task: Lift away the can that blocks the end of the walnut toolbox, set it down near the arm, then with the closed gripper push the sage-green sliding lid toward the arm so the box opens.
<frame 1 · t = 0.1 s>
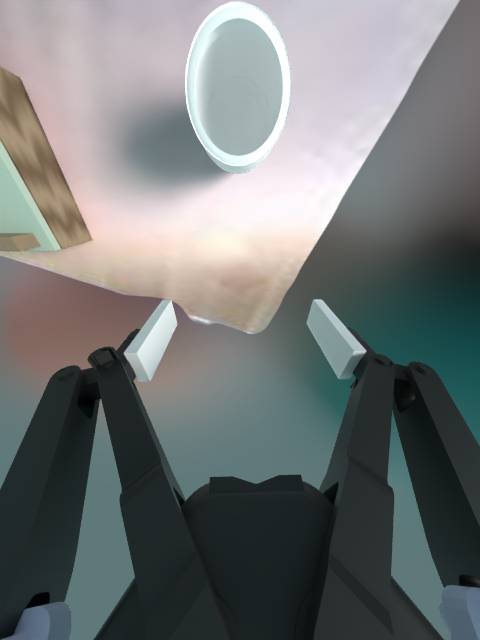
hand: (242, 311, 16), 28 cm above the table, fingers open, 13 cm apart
jar: (237, 140, 29), on the table
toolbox: (24, 174, 31), on the table
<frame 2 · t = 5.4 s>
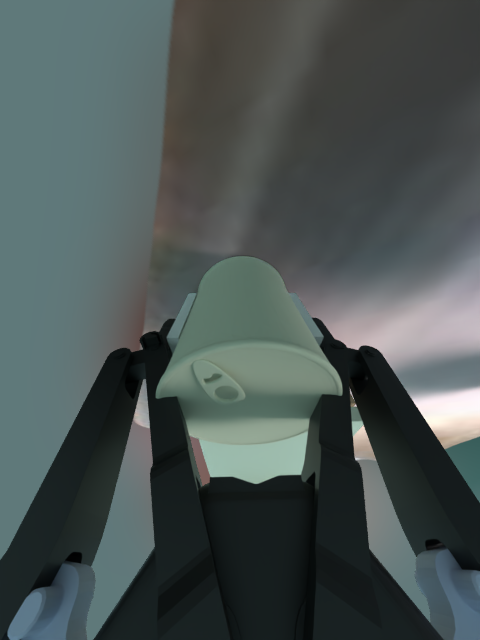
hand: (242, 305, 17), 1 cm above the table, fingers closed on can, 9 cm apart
can: (242, 299, 18), on the table, touching gripper
lid: (269, 480, 19), point 11 cm above the table, slide at 0.0 cm
when the fingers open (2 cm above the table, at t = 11.3 s): can drops 1 cm, on the table.
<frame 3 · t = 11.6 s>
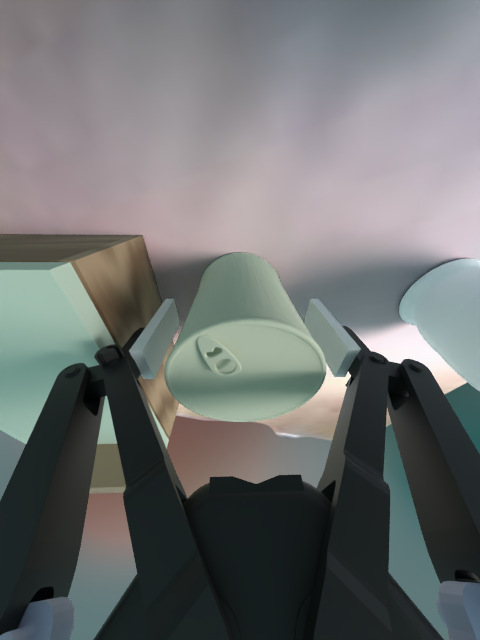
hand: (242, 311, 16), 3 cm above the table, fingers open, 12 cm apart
can: (240, 293, 19), on the table
jar: (435, 293, 20), on the table
lid: (32, 418, 13), point 11 cm above the table, slide at 0.0 cm, touching gripper
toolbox: (114, 330, 22), on the table
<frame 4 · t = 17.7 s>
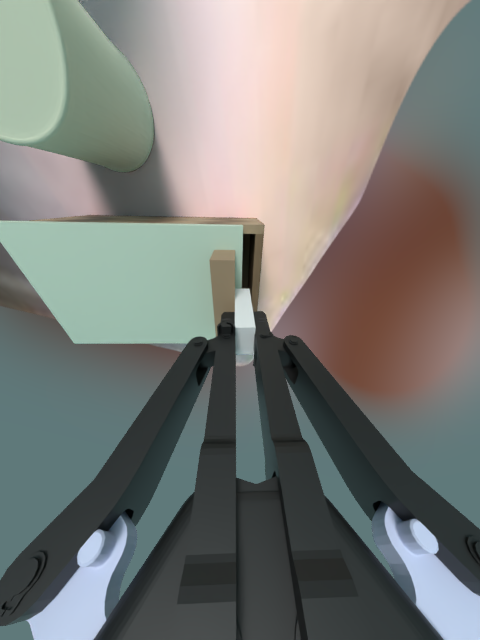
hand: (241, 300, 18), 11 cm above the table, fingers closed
can: (108, 114, 18), on the table
lid: (137, 301, 18), point 11 cm above the table, slide at 2.1 cm, touching gripper
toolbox: (183, 268, 27), on the table
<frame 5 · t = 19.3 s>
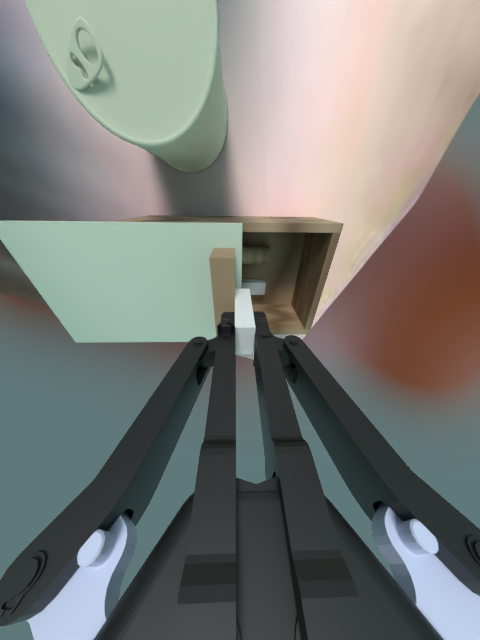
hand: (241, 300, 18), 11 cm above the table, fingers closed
can: (184, 115, 18), on the table
lid: (137, 300, 18), point 11 cm above the table, slide at 10.0 cm, touching gripper
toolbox: (233, 268, 27), on the table
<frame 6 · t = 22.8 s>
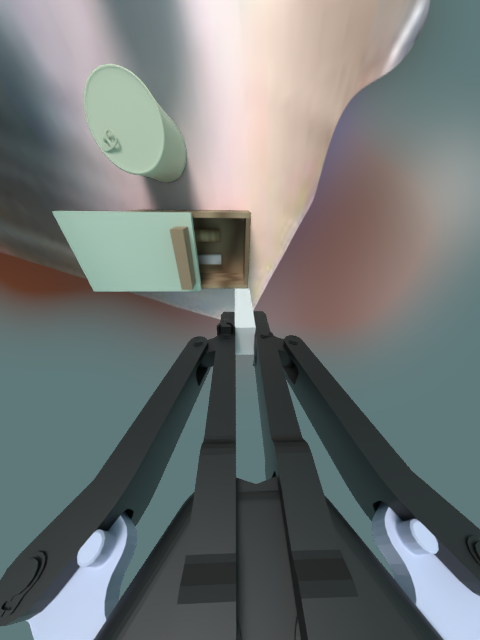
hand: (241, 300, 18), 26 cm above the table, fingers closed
can: (160, 149, 30), on the table
lid: (133, 258, 31), point 11 cm above the table, slide at 10.0 cm
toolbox: (199, 245, 39), on the table
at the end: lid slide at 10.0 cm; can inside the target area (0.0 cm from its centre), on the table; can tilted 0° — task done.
